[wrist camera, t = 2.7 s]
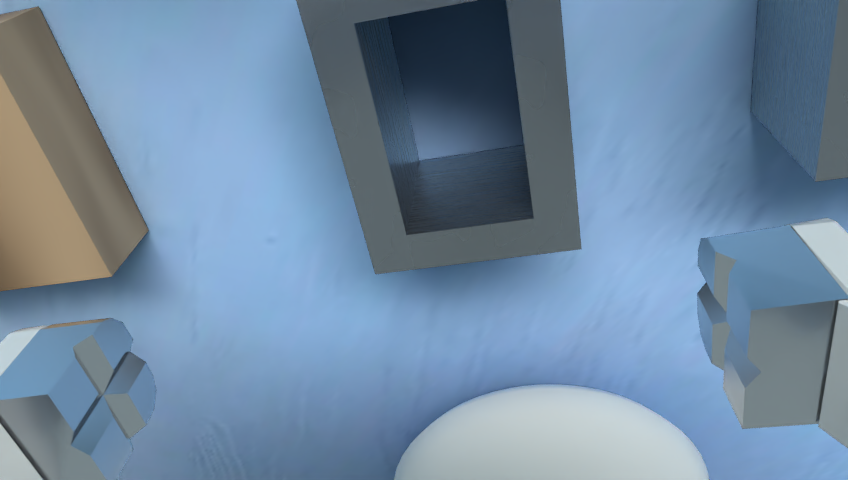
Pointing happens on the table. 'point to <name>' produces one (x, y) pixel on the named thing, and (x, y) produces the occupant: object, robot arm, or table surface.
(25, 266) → the block
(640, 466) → the flower in vase
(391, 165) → the grey hollow rectangular block
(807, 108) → the grey hollow block
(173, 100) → the table surface
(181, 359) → the table surface
